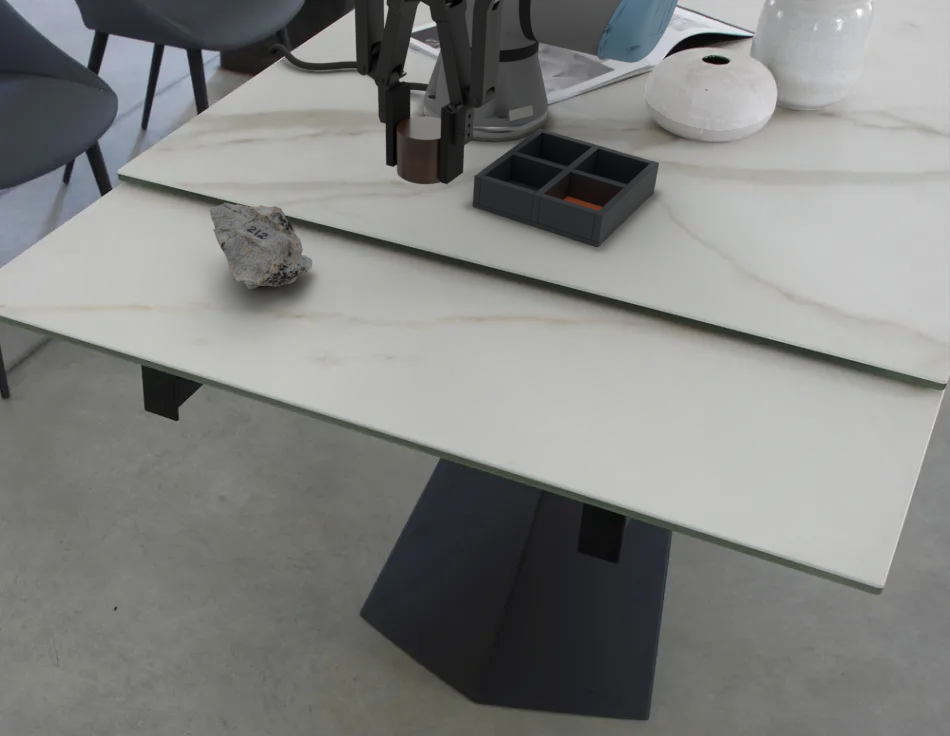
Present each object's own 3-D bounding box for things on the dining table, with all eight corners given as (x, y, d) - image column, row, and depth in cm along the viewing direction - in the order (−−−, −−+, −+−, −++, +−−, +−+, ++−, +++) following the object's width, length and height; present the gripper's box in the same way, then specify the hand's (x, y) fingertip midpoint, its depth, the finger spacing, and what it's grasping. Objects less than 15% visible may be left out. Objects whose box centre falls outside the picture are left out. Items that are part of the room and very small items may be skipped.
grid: (472, 206, 110) (474, 175, 107) (536, 157, 120) (539, 128, 117) (597, 247, 105) (602, 215, 102) (654, 192, 114) (659, 162, 112)
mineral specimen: (296, 320, 101) (191, 298, 98) (307, 240, 102) (204, 217, 99) (316, 296, 92) (202, 272, 89) (328, 210, 93) (215, 183, 89)
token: (385, 174, 89) (385, 130, 86) (415, 154, 92) (416, 111, 90) (432, 190, 88) (433, 145, 85) (461, 169, 91) (463, 125, 88)
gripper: (297, -147, 75) (315, 157, 90) (512, -103, 68) (491, 215, 84) (357, -164, 79) (365, 127, 95) (562, -124, 73) (534, 180, 89)
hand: (424, 168), depth 90 cm, fingers closed on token, 5 cm apart
